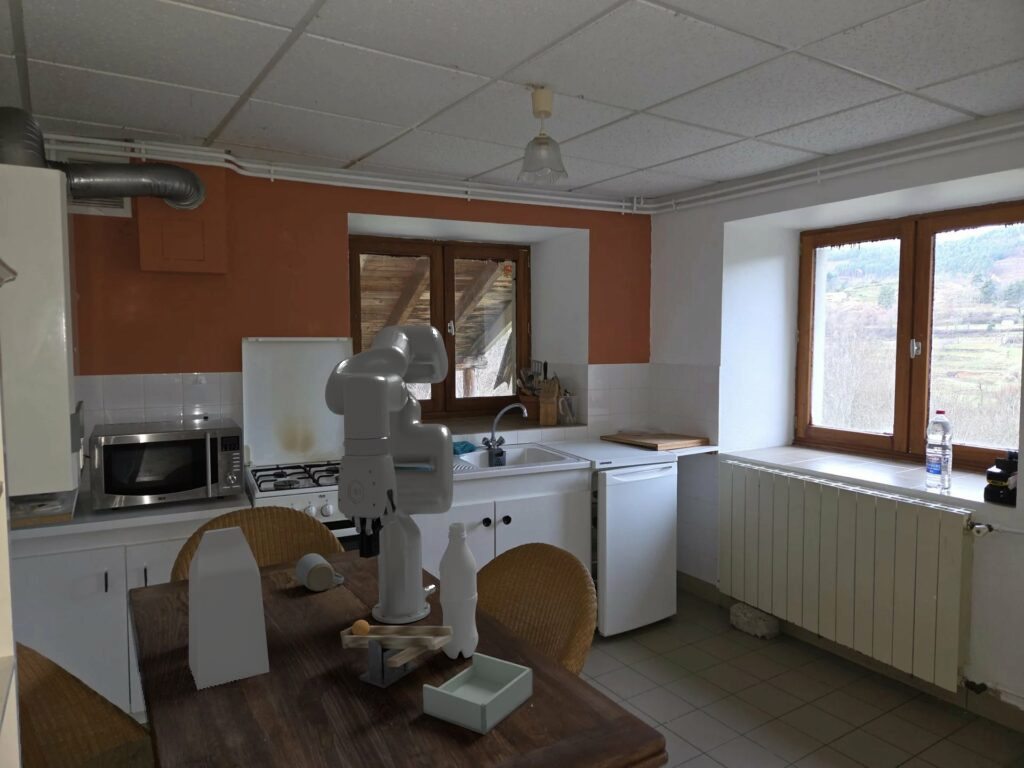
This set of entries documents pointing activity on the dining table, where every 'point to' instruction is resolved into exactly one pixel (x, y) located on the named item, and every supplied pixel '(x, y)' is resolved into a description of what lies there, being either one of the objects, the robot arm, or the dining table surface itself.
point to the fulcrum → (384, 666)
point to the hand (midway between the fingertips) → (369, 555)
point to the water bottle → (459, 593)
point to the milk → (225, 611)
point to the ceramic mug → (316, 572)
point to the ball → (360, 628)
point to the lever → (401, 640)
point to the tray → (480, 694)
